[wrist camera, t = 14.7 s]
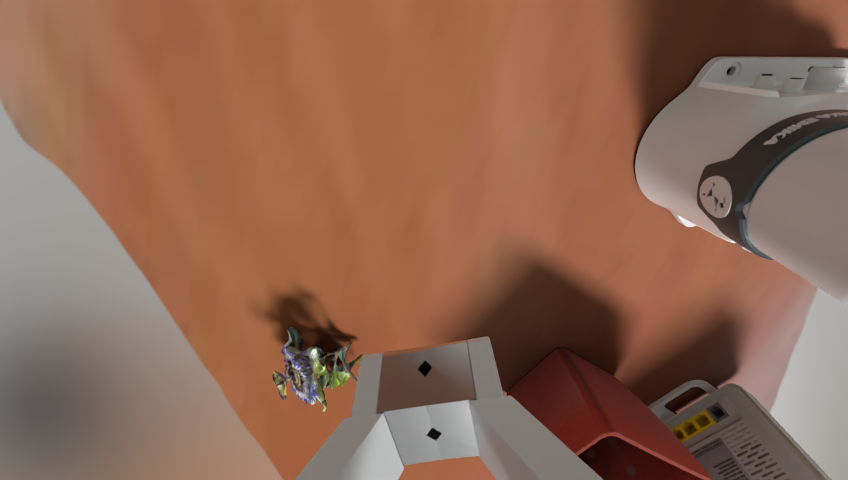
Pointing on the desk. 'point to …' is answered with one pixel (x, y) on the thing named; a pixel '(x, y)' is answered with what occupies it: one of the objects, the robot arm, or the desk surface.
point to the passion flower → (311, 370)
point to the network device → (736, 436)
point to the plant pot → (603, 421)
